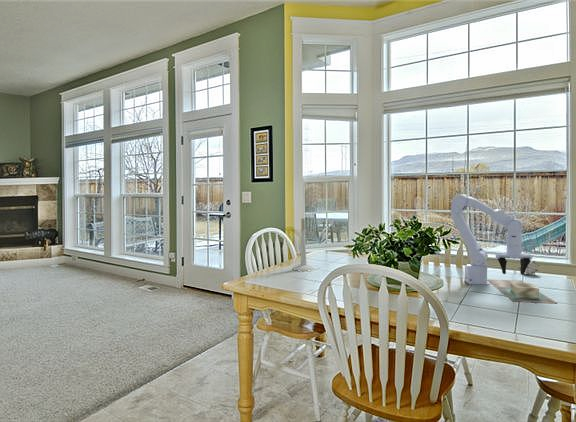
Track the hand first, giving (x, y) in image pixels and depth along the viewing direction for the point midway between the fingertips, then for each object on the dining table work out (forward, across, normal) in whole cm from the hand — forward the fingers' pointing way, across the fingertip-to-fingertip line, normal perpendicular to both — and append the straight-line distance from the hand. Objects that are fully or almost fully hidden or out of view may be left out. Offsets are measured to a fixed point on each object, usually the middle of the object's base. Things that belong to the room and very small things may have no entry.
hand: (513, 274), depth 167 cm
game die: (+6, +17, +26) cm, 32 cm away
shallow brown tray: (+6, 0, -5) cm, 8 cm away
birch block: (+6, 0, -12) cm, 13 cm away
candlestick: (+7, -102, +23) cm, 105 cm away
